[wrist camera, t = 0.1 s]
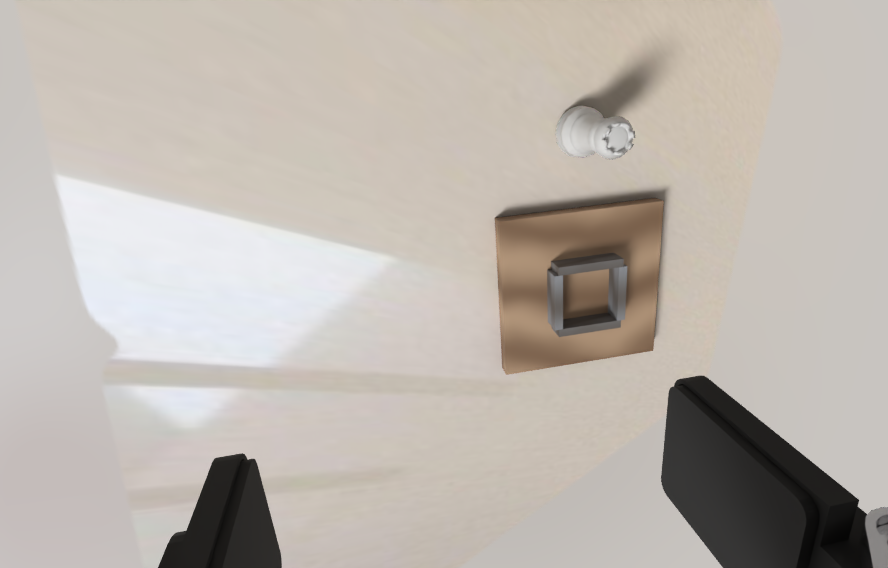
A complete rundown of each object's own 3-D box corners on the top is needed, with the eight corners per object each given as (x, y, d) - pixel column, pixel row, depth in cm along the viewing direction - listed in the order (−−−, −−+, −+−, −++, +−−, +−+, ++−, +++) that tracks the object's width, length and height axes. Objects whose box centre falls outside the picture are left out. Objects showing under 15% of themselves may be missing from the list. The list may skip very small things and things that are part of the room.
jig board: (495, 217, 48) (505, 227, 45) (655, 197, 50) (676, 205, 47) (502, 367, 54) (511, 384, 51) (645, 344, 56) (663, 359, 53)
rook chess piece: (553, 159, 47) (590, 171, 40) (553, 107, 45) (592, 110, 38) (599, 154, 48) (645, 166, 40) (601, 103, 46) (649, 105, 39)
